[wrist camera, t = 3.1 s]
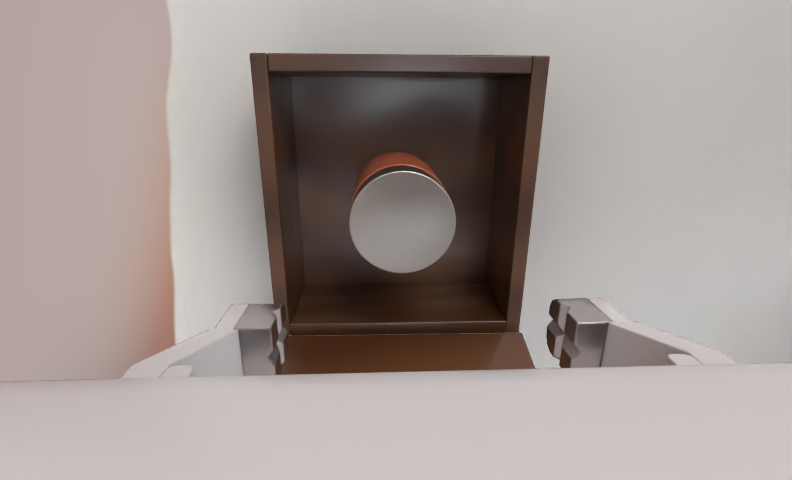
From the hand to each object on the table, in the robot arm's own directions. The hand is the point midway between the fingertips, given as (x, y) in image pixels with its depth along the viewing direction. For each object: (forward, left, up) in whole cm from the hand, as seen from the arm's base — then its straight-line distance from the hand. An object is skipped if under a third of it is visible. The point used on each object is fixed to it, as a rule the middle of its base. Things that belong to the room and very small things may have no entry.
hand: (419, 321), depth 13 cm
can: (0, 0, -19) cm, 19 cm away
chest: (0, 0, -20) cm, 20 cm away
